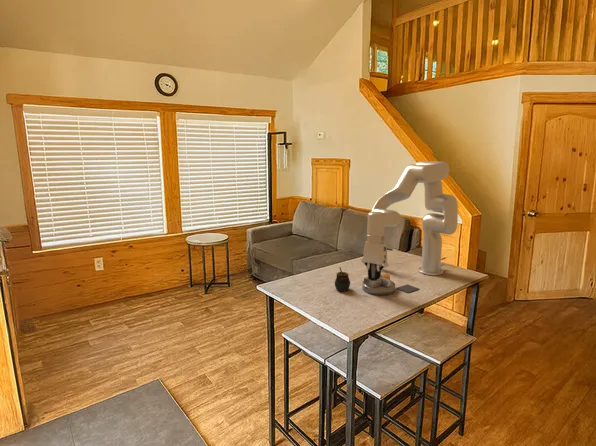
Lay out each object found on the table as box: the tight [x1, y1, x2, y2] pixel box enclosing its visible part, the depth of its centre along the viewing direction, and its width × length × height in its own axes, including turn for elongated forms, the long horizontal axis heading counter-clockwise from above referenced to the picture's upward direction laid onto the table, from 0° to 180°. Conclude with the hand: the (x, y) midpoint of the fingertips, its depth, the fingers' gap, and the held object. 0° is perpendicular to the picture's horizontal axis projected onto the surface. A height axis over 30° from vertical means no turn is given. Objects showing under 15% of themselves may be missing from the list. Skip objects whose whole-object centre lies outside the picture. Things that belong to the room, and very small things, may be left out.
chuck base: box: [361, 280, 396, 297], centre depth 176 cm, size 15×15×3 cm
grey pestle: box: [371, 263, 377, 281], centre depth 172 cm, size 3×3×10 cm
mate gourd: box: [334, 266, 351, 292], centre depth 176 cm, size 7×8×10 cm
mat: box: [395, 284, 420, 294], centre depth 176 cm, size 8×7×1 cm
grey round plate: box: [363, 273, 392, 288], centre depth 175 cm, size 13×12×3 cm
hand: (374, 277), depth 172 cm, fingers closed on grey pestle, 3 cm apart
